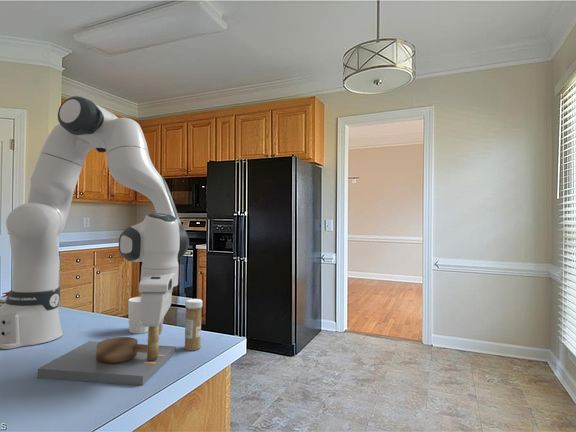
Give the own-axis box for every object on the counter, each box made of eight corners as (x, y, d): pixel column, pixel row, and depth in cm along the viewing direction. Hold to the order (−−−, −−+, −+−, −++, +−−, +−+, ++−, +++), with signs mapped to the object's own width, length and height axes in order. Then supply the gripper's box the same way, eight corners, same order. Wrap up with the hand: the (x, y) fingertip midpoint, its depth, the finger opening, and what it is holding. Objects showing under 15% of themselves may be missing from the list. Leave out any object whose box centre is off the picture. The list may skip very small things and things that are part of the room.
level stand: (37, 377, 77) (37, 368, 77) (88, 348, 95) (89, 340, 95) (142, 385, 76) (143, 375, 76) (174, 354, 94) (175, 346, 94)
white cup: (159, 328, 114) (160, 298, 114) (141, 336, 107) (143, 303, 107) (139, 325, 117) (140, 295, 117) (121, 332, 109) (122, 300, 110)
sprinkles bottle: (202, 349, 98) (204, 300, 98) (186, 352, 95) (188, 302, 96) (197, 344, 102) (199, 297, 102) (181, 346, 99) (183, 299, 99)
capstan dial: (87, 361, 81) (89, 326, 82) (110, 347, 90) (111, 316, 91) (148, 366, 80) (149, 331, 80) (165, 351, 89) (166, 320, 89)
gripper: (154, 271, 97) (152, 321, 97) (136, 286, 77) (134, 349, 77) (178, 271, 99) (176, 321, 99) (166, 286, 78) (164, 348, 78)
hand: (157, 333), depth 88 cm, fingers closed
